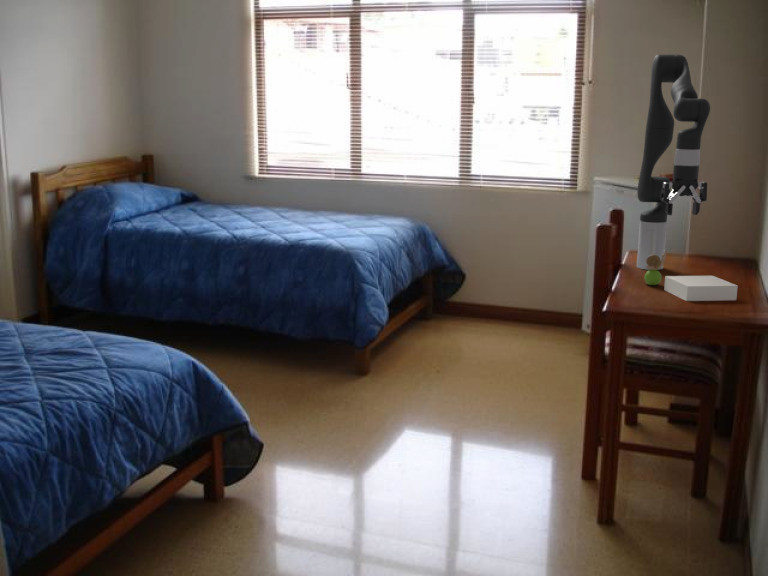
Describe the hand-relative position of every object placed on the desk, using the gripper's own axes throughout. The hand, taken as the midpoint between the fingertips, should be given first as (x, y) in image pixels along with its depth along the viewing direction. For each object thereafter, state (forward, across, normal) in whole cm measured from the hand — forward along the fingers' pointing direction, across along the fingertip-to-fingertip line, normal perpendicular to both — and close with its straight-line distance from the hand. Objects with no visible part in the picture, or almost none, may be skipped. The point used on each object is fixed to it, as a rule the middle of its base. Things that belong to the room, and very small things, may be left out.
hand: (682, 214), depth 260 cm
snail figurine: (+25, +4, -7) cm, 26 cm away
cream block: (+25, -4, +8) cm, 26 cm away
